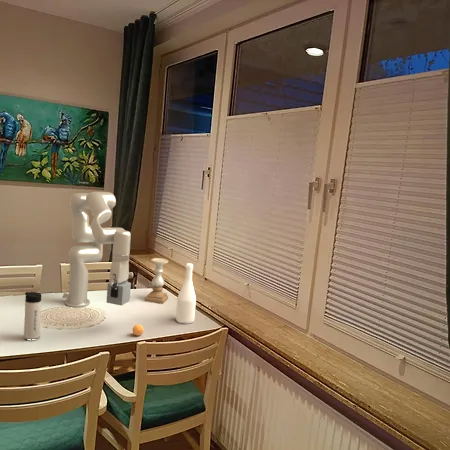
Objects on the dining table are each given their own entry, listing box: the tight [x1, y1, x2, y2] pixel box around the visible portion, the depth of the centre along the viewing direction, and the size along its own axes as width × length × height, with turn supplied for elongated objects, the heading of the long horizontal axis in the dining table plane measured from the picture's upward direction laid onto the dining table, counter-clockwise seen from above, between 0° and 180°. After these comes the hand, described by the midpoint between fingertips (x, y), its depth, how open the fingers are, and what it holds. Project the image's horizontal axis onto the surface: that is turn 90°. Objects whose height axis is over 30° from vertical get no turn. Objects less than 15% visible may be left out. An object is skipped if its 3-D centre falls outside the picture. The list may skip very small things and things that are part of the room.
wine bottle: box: [175, 262, 197, 325], centre depth 221 cm, size 10×10×30 cm
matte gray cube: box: [106, 281, 132, 306], centre depth 199 cm, size 8×8×9 cm
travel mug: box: [23, 291, 42, 340], centre depth 184 cm, size 6×7×20 cm
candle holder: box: [144, 257, 169, 305], centre depth 251 cm, size 11×11×24 cm
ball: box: [131, 323, 144, 337], centre depth 199 cm, size 5×5×5 cm
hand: (118, 294), depth 199 cm, fingers closed on matte gray cube, 7 cm apart
